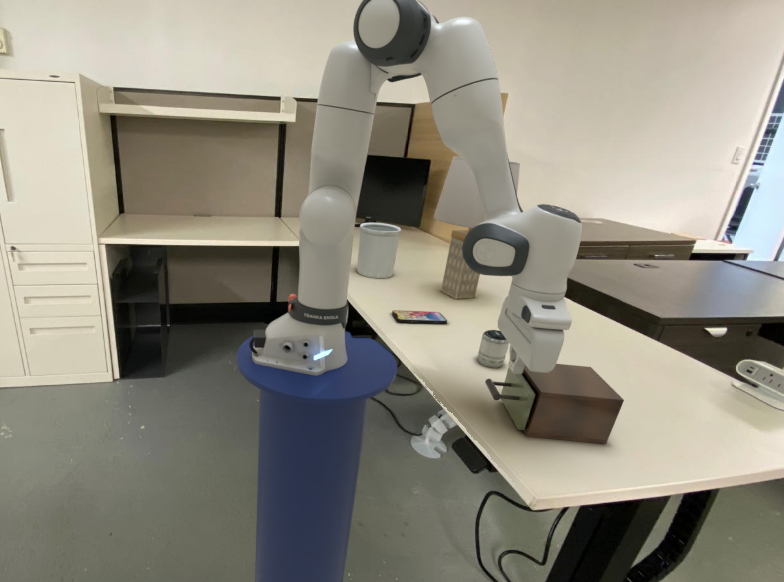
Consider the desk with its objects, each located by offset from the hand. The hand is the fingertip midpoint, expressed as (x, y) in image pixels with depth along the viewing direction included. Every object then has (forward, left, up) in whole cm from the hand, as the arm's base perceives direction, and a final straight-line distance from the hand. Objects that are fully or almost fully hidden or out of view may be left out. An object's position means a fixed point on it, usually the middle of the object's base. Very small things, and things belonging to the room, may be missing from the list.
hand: (514, 370), depth 88 cm
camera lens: (+4, +24, -11) cm, 27 cm away
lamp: (+7, +76, -10) cm, 77 cm away
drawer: (+5, 0, -9) cm, 11 cm away
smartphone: (-10, +49, -10) cm, 51 cm away
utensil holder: (-21, +93, -10) cm, 96 cm away
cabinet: (+10, 0, -10) cm, 14 cm away
